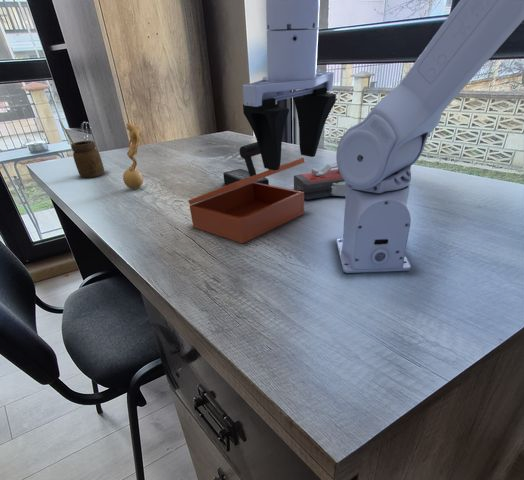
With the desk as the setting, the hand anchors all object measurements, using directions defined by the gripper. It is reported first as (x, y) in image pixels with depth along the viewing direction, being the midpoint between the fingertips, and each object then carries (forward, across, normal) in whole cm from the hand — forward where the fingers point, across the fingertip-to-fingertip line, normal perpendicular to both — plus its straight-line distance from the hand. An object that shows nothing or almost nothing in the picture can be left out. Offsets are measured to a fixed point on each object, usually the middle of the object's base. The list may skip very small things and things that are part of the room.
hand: (290, 161), depth 51 cm
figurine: (+12, -1, -42) cm, 44 cm away
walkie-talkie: (+10, -21, -4) cm, 24 cm away
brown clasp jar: (+13, -1, -62) cm, 64 cm away
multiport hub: (+11, -13, -22) cm, 28 cm away
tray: (+10, 0, -9) cm, 13 cm away
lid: (+5, 0, -9) cm, 10 cm away
